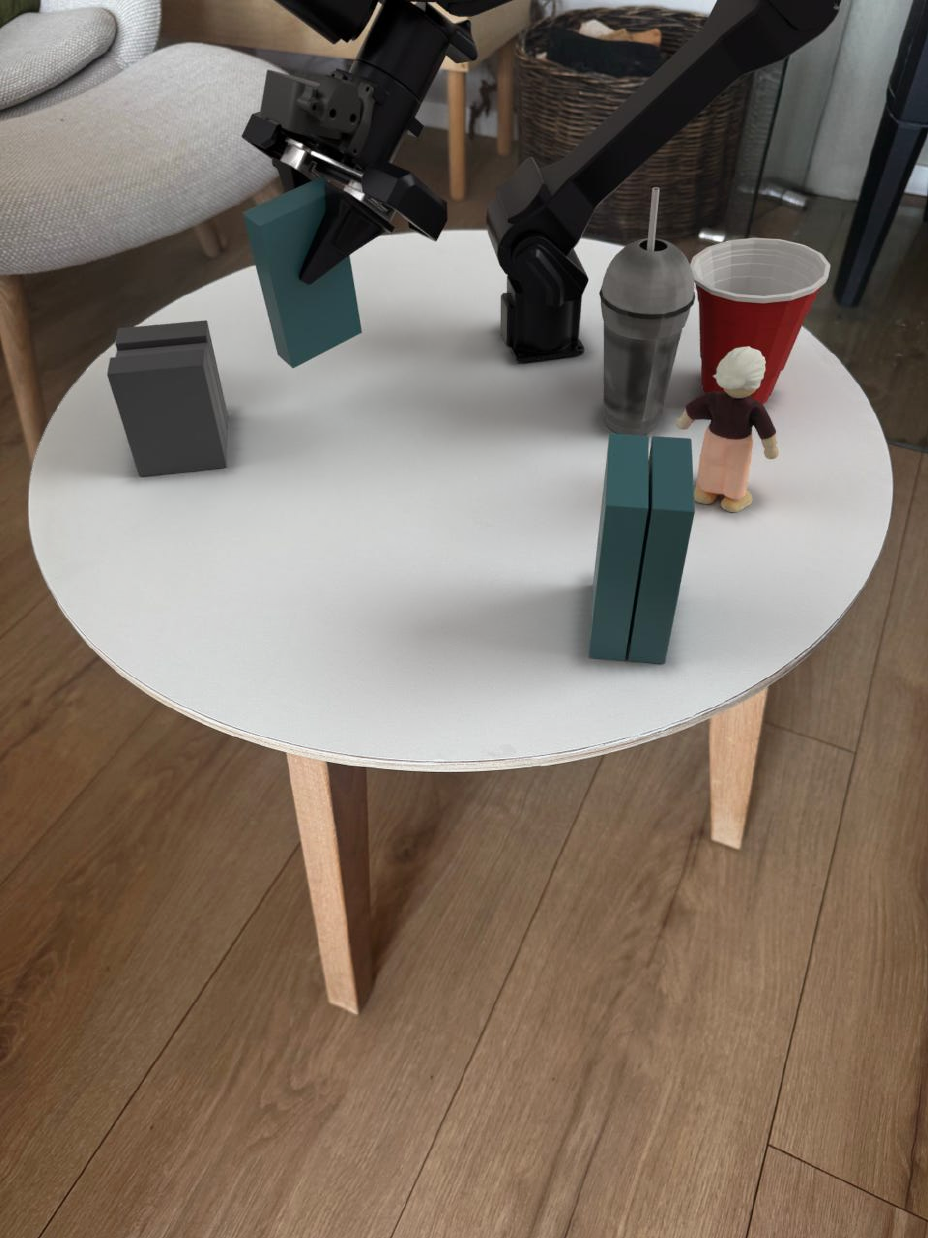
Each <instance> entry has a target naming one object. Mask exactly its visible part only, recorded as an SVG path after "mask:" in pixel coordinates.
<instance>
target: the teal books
mask: <svg viewBox="0 0 928 1238" xmlns="http://www.w3.org/2000/svg"><path fill="white" fill-rule="evenodd" d="M649 440H650V438H649V435H647V434H646V435H630V434H618V433H616V432H614V433H613V432H610V433H609V434H608V441H607V449H606V450H607V451H606V460H605V471H604V479H603V489H602V495H601V496H602V498H601V505H600V515H599V525H598V533H597V543H596V551H595V560H594V561H595V562H594V571H593V579H592V591H591V592H592V593H591V608H590V625H589V640H588V641H589V642H588V658H589V659H599V660H611V661H626V657H627V656H628V657H627V658H628V659H627V660H628V661H629V662H637V663H648V664H661V665H665V664H666V662H667V661H666V660H667V656H668V650H669V645H670V642H671V641H670V640H671V635H672V631H673V625H674V620H675V615H676V610H677V604H678V600H679V595H680V591H681V585H682V580H683V574H684V570H685V564H686V559H687V555H688V549H689V543H690V539H691V535H692V528H693V524H694V518H695V514H696V505H695V504H696V503H695V502H696V501H695V500H694V490H695V483H694V481H695V480H694V461H693V460H694V459H693V440H692V438H690V437H673V436H657V435H653V436H651V441H650V443H649ZM649 446H650V449H649ZM627 651H628V652H627ZM627 653H628V654H627Z"/></svg>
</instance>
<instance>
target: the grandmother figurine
mask: <svg viewBox="0 0 928 1238" xmlns="http://www.w3.org/2000/svg"><path fill="white" fill-rule="evenodd" d="M765 363H766V361H765V357H763V356H762V354H761V352H760V351H759V350H756V349H753V348H751V347H740V348H736V349H734V350H732V351H731V352H729V353H728V354H727V355H726V356H725V358H723V359H722V360H721V361H720V363H719V365H718V367H717V373H716V375H713V377H714V378H716V380H717V383H718V385H719V386H721V387H722V388H724V390H725V392H721V391H713V392H708V393H705V394H704V393H702V394H701V395H699V396H697V397H695V398H694V399H693V400H691V401H689V402H687V403H686V404H685V406H684V411H683V412H682V413H681V415H680V416H679V417H678V418H677V419H676V427H677V428H678V429H680V430H683V431H684V430H687V429H689V428H690V426H691V424H692V423H693V422H695V421H697V420H699V421H701V420H704V421H710V422H709V424H708V426H707V427H706V429H705V432H704V437H703V440H702V444H701V448H700V453H699V458H698V459H699V460H698V468H697V469H698V470H697V477H696V484H695V485H694V502H696V503H697V504H698V503H699V504H702V505H710V504H713V502H715V500H716V499H717V498H718V496H719V495H724V497H723V499H722V500H721V502H720V507H721V508H722V509H723V510H725V511H727V512H728V513H729V512H730V513H738V512H740V511H742V510H743V509H745V508H747V507H748V506H750V505H751V504H752V503H753V495H752V493H751V492H750V491H749V490H748V489H747V488H748V484H749V478H750V472H751V471H750V470H751V465H752V464H751V463H752V458H753V450H754V438H753V427H754V429H755V431H756V433H757V436H758V437H759V439H760V440H761V445H762V447H763V455H764V457H765V458H766V459H768V460H775V459H777V457H778V456H779V455H780V450H779V448H778V446H777V445H778V441H777V435H776V434H777V429H776V428H775V425H774V423H773V420H772V418H771V416H770V414H769V412H768V410H767V409H766V407H765V406H764V404H763V405H762V404H761V403H760V402H758V401H757V400H755V399H753V398H752V397H750V395H751V394H753V393H754V392H755V390H756V389H757V388H759V386H760V383H761V380H762V379H763V378H764V372H765V370H766V369H765Z"/></svg>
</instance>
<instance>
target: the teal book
mask: <svg viewBox="0 0 928 1238" xmlns="http://www.w3.org/2000/svg"><path fill="white" fill-rule="evenodd" d="M324 182H327V183H329V184H331V185H333V186H335V185H334V184H332V183H331V182H330V181H329V182H328V181H327V180H326V179H324V178H323V177H320V178H317V179H315V180H313V181H311V182H308V183H306V184H304V185H302V186H300V187H297V188H295V189H293V190H291V191H288V192H286V193H284V192H283V193H282V194H280V195H277V196H275V197H273V198H270V199H268V200H267V201H264V202H261V203H260V204H257V205H255V206H252V207H251V208H248V209H247V210H244V211H242V213H241V214H242V217H243V221H244V226H245V229H246V233H247V237H248V241H249V245H250V248H251V253H252V257H253V261H254V265H255V269H256V273H257V277H258V282H259V285H260V289H261V292H262V298H263V301H264V305H265V309H266V313H267V317H268V320H269V321H268V322H269V325H270V330H271V333H272V337H273V340H274V341H273V342H274V345H275V349H276V353H277V355H278V357H280V358H281V359H282V360H283V361H284V362H285V363H286V364H287V365H288V366H289V367H290V368H291V369H295V368H297V367H300V366H301V365H303V364H304V363H307V362H309V361H310V360H312V359H315V358H316V357H318V356H320V355H323V354H324V353H327V352H328V351H329V350H331V349H334V348H335V347H337V346H339V345H341V344H343V343H346V342H347V341H349V340H351V339H353V338H354V337H357V336H359V335H361V334H362V333H363V329H362V324H361V318H360V311H359V304H358V299H357V298H358V297H357V294H356V293H357V292H356V286H355V280H354V275H353V273H354V272H353V268H352V262H351V255H349V256H348V257H346V258H345V259H344V260H343V261H341V262H340V263H339V264H337V265H336V266H335V267H333V268H332V269H331V270H329V271H328V272H327V273H325V274H324V275H323V276H322V277H320V278H319V279H318V280H316V281H315V282H314V283H312V284H311V285H307V284H305V283H304V282H302V281H300V280H299V275H300V272H301V269H302V266H303V263H304V260H305V257H306V255H307V253H308V250H309V248H310V246H311V244H312V241H313V239H314V237H315V234H316V232H317V230H318V228H319V225H320V223H321V221H322V218H323V216H324V214H325V210H326V205H325V193H324Z"/></svg>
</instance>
